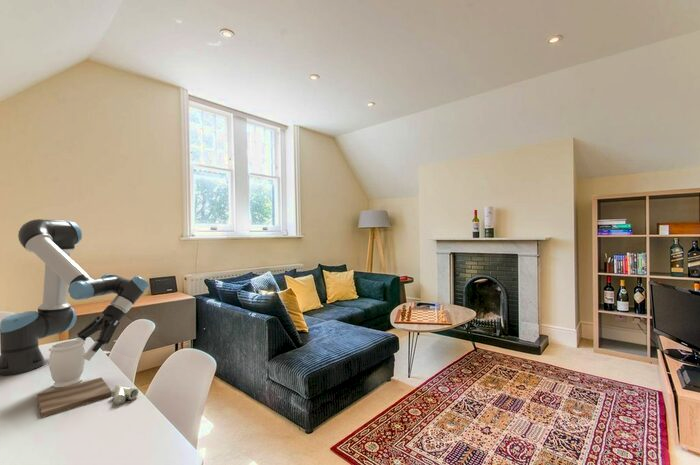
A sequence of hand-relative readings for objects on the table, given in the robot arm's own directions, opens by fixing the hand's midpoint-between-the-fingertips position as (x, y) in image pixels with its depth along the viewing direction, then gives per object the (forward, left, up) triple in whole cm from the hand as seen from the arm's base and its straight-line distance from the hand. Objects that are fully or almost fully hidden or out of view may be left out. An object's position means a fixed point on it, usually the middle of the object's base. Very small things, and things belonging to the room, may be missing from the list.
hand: (76, 356), depth 129 cm
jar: (-1, -3, -10) cm, 10 cm away
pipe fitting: (+31, +8, -10) cm, 34 cm away
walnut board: (+16, -3, -10) cm, 19 cm away
